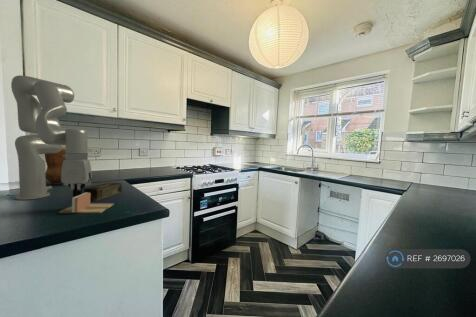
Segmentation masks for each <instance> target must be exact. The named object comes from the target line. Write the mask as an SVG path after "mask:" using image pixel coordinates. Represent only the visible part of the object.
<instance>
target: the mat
mask: <svg viewBox="0 0 476 317" xmlns="http://www.w3.org/2000/svg"><path fill="white" fill-rule="evenodd" d="M114 205H115V203H114V202H110V203H109V202H107V203H106V202H103V203H102V202H97V203H96V202H94V203H92V202H90V206H88V207H86V208H84V209H83V210H81V211H79V212H72V205H71V206H69V207H66V208H63V209H61V210H60V211H58V214H101V213H103V212H105V211H106V210H108V209H109V208H111V207H112V206H114Z"/></svg>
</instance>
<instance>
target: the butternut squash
mask: <svg viewBox="0 0 476 317" xmlns="http://www.w3.org/2000/svg"><path fill="white" fill-rule="evenodd" d="M65 153H66V146H62V148H61V151H60V152H58V153H55V154H44V161H45V164H46V169H45V174H46V180H47V181H48V182H50V183H51V184H53V185H63V183H62V182H61V171H62V165H63V161H64V160H66V157H63V154H65Z"/></svg>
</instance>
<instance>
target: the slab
mask: <svg viewBox="0 0 476 317" xmlns="http://www.w3.org/2000/svg"><path fill="white" fill-rule="evenodd" d="M90 195H91V193H83V194H81V195H78V196H76V197H73V196H72V198H71V206H72V212H79V211H81V210H83V209H84V208H86V207H88V206H90V203H91V201H90Z"/></svg>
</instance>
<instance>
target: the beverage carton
mask: <svg viewBox="0 0 476 317" xmlns="http://www.w3.org/2000/svg"><path fill="white" fill-rule="evenodd" d="M122 185H123V183H121V182H114V181H110V182H107V183H102V184H98V185H97V184H96V185H93V186H92V185H91V186H89V187H84V189H83V193H91V195H90V202H92V201H93V202H97V201H100V200H103V199H106V198H110V197H112V196H115V194H116V195H119V194H121V193H122V191H123V190H122V189H123V188H122ZM118 193H119V194H118Z"/></svg>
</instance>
